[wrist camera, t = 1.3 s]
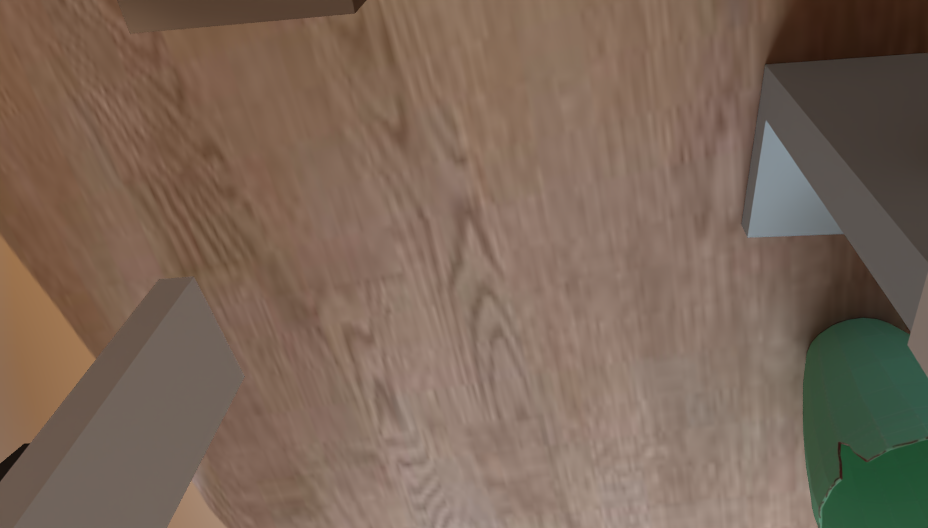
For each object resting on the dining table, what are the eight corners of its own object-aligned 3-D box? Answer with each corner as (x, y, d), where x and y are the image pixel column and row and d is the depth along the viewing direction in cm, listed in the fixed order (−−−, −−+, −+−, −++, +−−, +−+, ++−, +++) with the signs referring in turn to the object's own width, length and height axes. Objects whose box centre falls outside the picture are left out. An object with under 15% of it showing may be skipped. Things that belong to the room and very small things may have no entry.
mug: (770, 284, 35) (839, 434, 27) (978, 275, 33) (1119, 430, 25) (742, 466, 43) (788, 622, 35) (908, 465, 41) (996, 628, 33)
